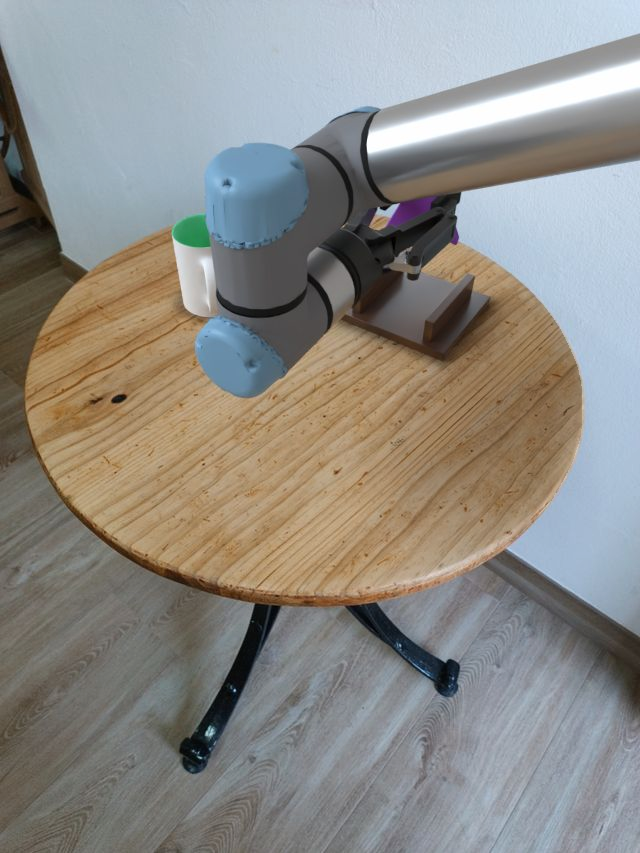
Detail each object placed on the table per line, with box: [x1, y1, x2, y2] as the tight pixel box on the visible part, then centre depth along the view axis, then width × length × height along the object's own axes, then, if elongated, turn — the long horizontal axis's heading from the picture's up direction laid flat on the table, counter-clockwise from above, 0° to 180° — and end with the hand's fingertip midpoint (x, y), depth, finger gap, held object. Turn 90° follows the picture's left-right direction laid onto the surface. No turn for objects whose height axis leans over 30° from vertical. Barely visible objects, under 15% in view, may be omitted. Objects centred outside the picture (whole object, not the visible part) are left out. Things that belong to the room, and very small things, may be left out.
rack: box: [340, 250, 491, 362], centre depth 90 cm, size 16×14×4 cm
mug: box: [171, 212, 218, 318], centre depth 88 cm, size 12×8×10 cm
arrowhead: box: [385, 196, 460, 246], centre depth 81 cm, size 10×2×10 cm
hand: (434, 183), depth 79 cm, fingers closed on arrowhead, 5 cm apart
